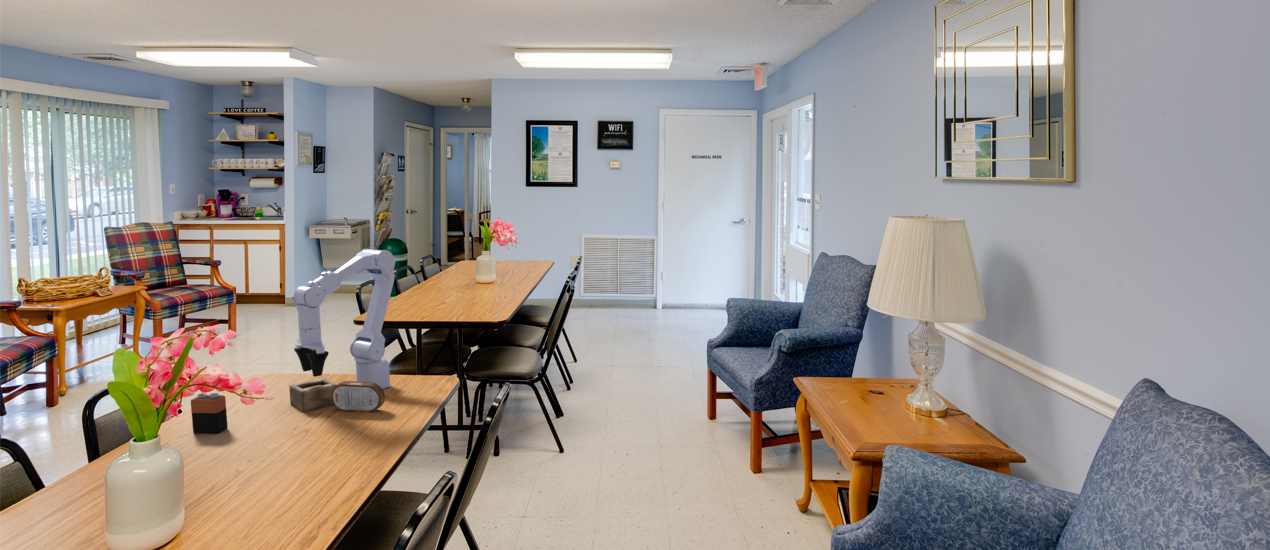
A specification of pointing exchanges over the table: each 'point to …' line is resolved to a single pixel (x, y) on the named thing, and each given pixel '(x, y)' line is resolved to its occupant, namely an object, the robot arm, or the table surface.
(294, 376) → the table surface
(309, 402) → the coin box
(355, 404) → the tin
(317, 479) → the table surface
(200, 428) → the battery
